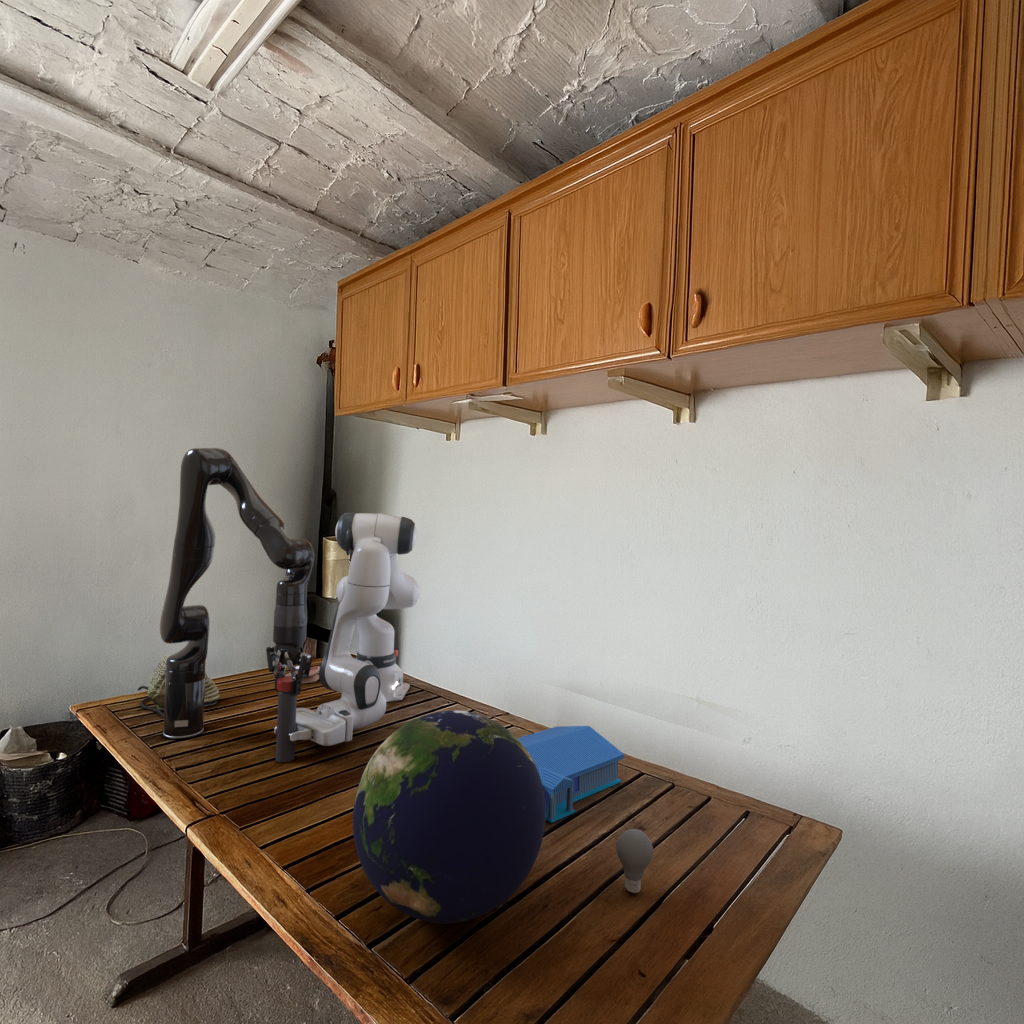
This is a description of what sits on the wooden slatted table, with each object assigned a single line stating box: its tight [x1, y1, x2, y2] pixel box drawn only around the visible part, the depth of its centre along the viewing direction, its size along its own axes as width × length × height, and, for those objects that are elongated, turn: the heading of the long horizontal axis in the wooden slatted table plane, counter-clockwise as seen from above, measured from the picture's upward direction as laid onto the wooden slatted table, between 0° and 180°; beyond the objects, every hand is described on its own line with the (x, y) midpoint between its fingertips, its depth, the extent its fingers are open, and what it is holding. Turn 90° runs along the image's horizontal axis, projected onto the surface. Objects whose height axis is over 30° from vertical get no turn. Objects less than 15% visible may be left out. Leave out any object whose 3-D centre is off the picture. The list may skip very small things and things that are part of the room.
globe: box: [352, 709, 547, 925], centre depth 100 cm, size 30×30×30 cm
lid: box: [277, 676, 292, 692], centre depth 152 cm, size 5×5×2 cm
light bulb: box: [615, 828, 654, 894], centre depth 106 cm, size 6×6×10 cm
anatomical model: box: [284, 665, 320, 685], centre depth 215 cm, size 13×4×12 cm
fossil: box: [147, 654, 221, 712], centre depth 185 cm, size 9×18×15 cm, turn 132°
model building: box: [516, 725, 625, 824], centre depth 140 cm, size 39×24×10 cm, turn 132°
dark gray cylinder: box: [275, 691, 298, 763], centre depth 152 cm, size 4×4×18 cm
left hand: (287, 692), depth 152 cm, fingers closed on lid, 5 cm apart
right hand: (282, 734), depth 151 cm, fingers closed on dark gray cylinder, 4 cm apart
